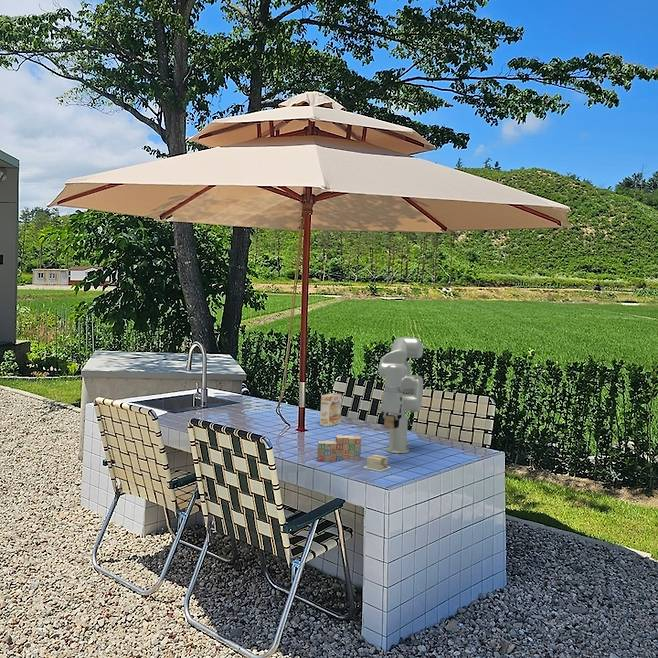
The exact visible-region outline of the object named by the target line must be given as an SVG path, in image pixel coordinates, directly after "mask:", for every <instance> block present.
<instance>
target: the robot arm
mask: <svg viewBox="0 0 658 658" xmlns="http://www.w3.org/2000/svg"><path fill="white" fill-rule="evenodd" d="M423 353H424V346H423V343H422V341H421V340H420V339H419V338H417V337H407V336H401V337H396V339H395V340H394V341H393V343H392V344H391V347H390V352H388V353H386V354H385V355H382V357H381V359H380V362H379V365H378V368H377V369H378V370H377V371H378V375H379V377H381V378H385V383H384V385H385V387H384V389H385V391H384V392H383V396H382V400H381V406H380V407H379V409H378V412H379V413H380V414H381V416H382V418H383V423H384V422H385V415H395V420H394V428H396V429H389V434H388V435H389V436H388V437H389V439H388V447H386V448H385V450H386V452H387V453H391V454H399V453H402V454H407V453H410V449H409V448H408V446H410V444H411V442H409V441H407V440H408V424H409V423H408V422H409V421H408V420H409V419H408V417H407V415H406V412H411V413H412V412H413V413H418V412H420V411H421V409H422V405H423V394H424V393H423V392H424V391H423V390H424V379H423V378H422V376H421V375H419V374H417V375H416V374H411V370H412V369H411V368H412V367H411V365H410V363H409V362H408V361H407V359H408V358H409V359H420V358H422V357H423ZM397 427H398V428H397Z"/></svg>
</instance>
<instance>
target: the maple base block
mask: <svg viewBox="0 0 658 658" xmlns="http://www.w3.org/2000/svg"><path fill="white" fill-rule="evenodd" d="M366 458H367V459H366V464H367V467H368V468H372V469H377V470H381V469H384V468H386V467H387V465H388V457H387V456H384V455H379V454H373V455H370V456H367V457H366Z"/></svg>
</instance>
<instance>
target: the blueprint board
mask: <svg viewBox="0 0 658 658" xmlns="http://www.w3.org/2000/svg"><path fill="white" fill-rule="evenodd" d="M397 467H398V466H397ZM397 467H396V466H393V465H390V464H389V465H388V464H387V467H386V468H384V469H381V470H377V469H372V468H368V467H367V463H366V464H363V465H360V466H357V467H356V468H357V469H362V470H367V471H372V472H377V473H379V474H383V473H385V472H389V471H391V470H394V469H397Z"/></svg>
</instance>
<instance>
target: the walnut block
mask: <svg viewBox="0 0 658 658" xmlns="http://www.w3.org/2000/svg"><path fill="white" fill-rule="evenodd" d="M394 420H395V415H390V414H389V415H385V422H384V421H383V426H384V427H383V428H385V429H389V430H390V429H396V428H394ZM397 428H398V427H397Z"/></svg>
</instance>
